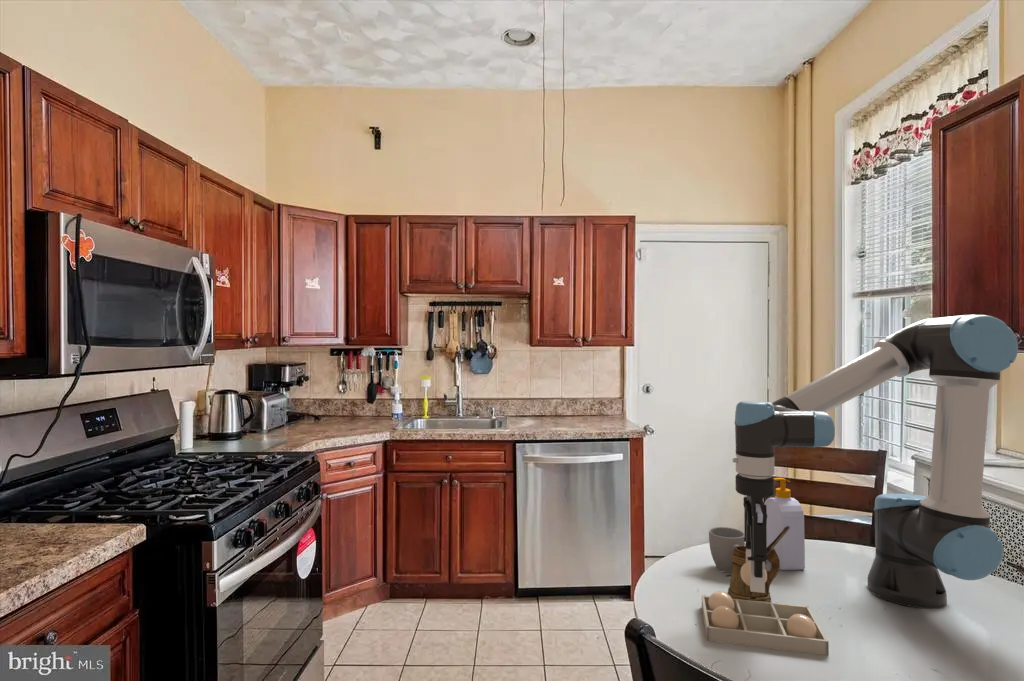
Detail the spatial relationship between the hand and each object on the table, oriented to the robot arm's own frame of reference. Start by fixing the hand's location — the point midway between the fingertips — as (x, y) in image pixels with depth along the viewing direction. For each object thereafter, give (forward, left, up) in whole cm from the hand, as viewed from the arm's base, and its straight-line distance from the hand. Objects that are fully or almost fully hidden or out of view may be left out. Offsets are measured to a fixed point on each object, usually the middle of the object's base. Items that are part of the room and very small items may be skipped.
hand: (755, 585), depth 116 cm
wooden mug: (-2, -11, -8) cm, 13 cm away
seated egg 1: (+7, 0, -7) cm, 10 cm away
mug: (+2, -28, -8) cm, 29 cm away
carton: (0, +3, -8) cm, 9 cm away
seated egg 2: (+7, +7, -7) cm, 12 cm away
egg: (0, 0, 0) cm, 0 cm away
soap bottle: (-12, -36, -8) cm, 39 cm away
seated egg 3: (-7, +7, -7) cm, 12 cm away
